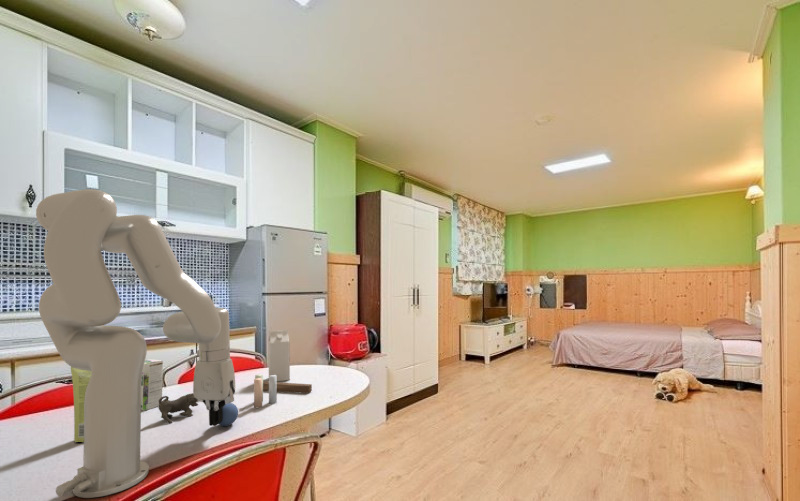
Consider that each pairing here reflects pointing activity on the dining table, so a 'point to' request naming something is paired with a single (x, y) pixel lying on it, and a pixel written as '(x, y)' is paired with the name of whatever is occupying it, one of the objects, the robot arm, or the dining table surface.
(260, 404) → the front pin
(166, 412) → the dog figurine
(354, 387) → the dining table surface
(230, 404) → the ball
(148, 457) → the dining table surface
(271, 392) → the back pin right
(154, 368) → the syrup box
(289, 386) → the brown bar
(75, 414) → the tube
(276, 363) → the milk carton
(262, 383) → the back pin left
